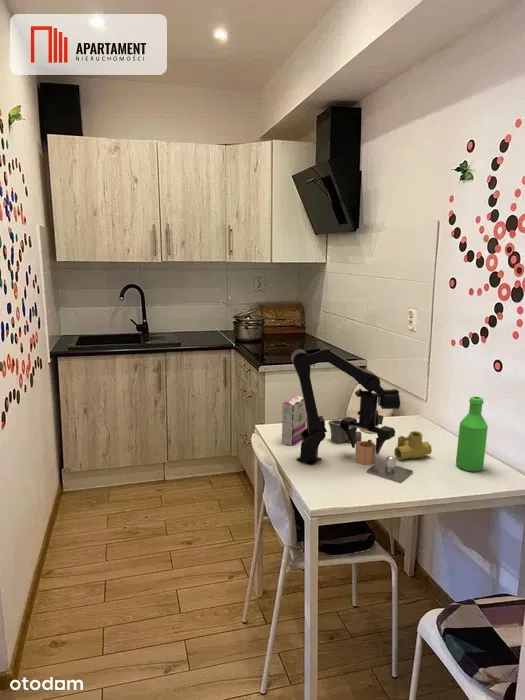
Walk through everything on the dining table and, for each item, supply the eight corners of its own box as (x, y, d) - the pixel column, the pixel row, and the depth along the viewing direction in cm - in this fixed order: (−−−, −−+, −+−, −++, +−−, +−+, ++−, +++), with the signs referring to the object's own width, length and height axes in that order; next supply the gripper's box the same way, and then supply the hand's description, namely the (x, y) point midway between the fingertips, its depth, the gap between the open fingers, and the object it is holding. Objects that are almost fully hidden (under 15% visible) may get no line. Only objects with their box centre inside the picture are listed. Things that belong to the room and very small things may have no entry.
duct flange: (400, 483, 165) (401, 466, 164) (366, 472, 172) (367, 456, 171) (412, 472, 173) (414, 456, 171) (379, 463, 180) (381, 447, 179)
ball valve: (431, 460, 186) (415, 446, 194) (435, 435, 182) (418, 422, 191) (401, 466, 182) (386, 452, 190) (404, 440, 178) (388, 427, 187)
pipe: (361, 445, 196) (363, 425, 195) (328, 444, 196) (329, 424, 195) (359, 439, 202) (360, 419, 201) (326, 438, 202) (327, 418, 201)
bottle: (466, 473, 173) (473, 402, 168) (450, 463, 181) (457, 394, 176) (488, 471, 175) (496, 400, 170) (471, 461, 183) (479, 393, 179)
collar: (368, 465, 177) (370, 447, 176) (352, 460, 181) (353, 442, 180) (377, 460, 182) (378, 442, 181) (361, 455, 186) (362, 437, 185)
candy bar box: (294, 434, 205) (296, 395, 202) (305, 437, 202) (307, 397, 199) (280, 443, 196) (282, 401, 192) (292, 446, 193) (293, 404, 190)
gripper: (403, 408, 178) (399, 451, 182) (355, 398, 190) (352, 438, 193) (389, 416, 170) (386, 461, 173) (340, 404, 181) (337, 446, 184)
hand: (365, 451), depth 181 cm, fingers open, 9 cm apart
